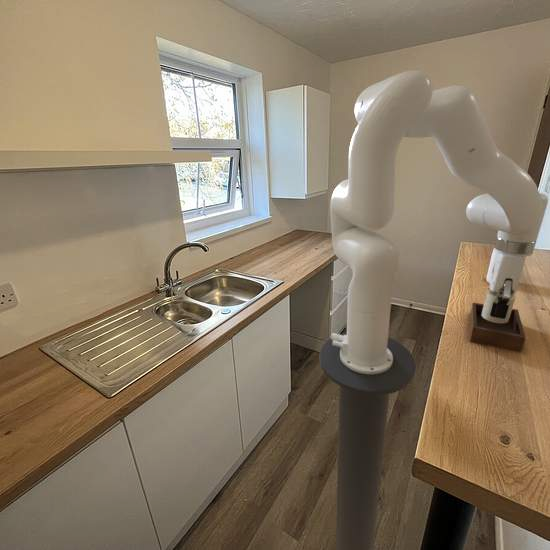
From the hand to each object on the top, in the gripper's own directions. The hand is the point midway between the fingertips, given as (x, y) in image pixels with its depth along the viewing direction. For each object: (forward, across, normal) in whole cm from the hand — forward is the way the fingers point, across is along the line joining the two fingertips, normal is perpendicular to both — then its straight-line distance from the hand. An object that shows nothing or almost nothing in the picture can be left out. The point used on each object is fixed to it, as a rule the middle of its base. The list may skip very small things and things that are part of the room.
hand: (496, 310), depth 79 cm
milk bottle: (+6, -36, +4) cm, 37 cm away
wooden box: (+7, 0, 0) cm, 7 cm away
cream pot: (+2, 0, 0) cm, 2 cm away
